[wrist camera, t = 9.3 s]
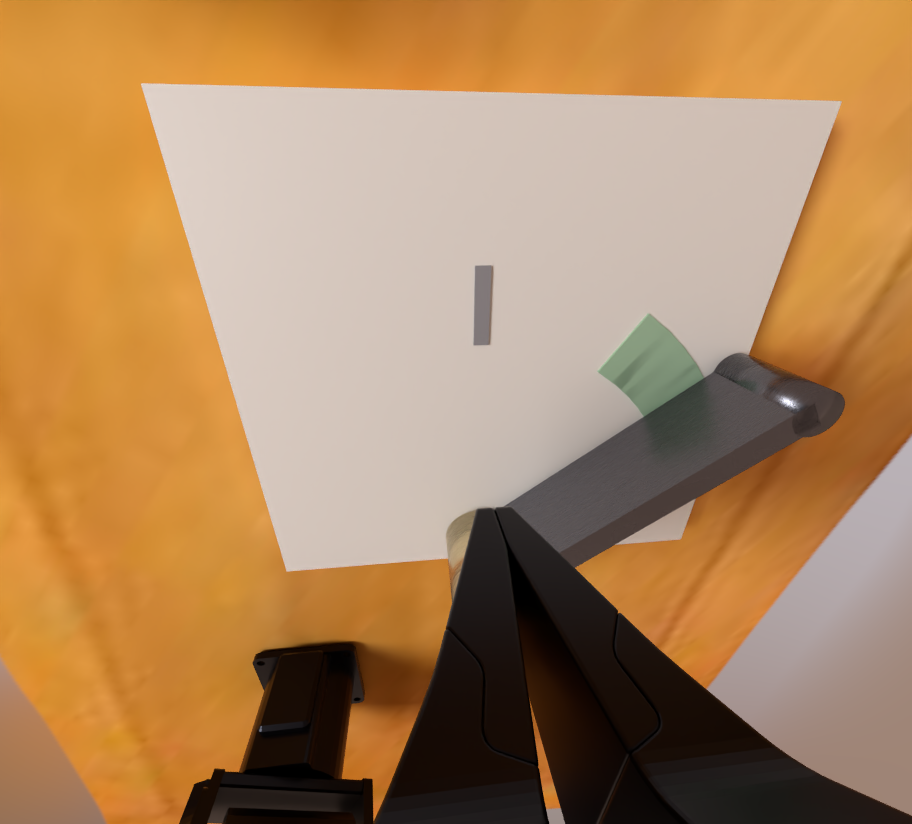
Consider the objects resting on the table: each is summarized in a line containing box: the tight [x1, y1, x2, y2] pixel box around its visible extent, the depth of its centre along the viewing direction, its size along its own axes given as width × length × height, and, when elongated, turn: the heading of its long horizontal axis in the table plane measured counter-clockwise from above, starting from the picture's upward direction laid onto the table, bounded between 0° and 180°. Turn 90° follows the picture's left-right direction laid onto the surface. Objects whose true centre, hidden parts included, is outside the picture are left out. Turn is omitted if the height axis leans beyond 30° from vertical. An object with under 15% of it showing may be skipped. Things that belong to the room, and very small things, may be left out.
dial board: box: [141, 83, 842, 571], centre depth 17 cm, size 20×22×2 cm
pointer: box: [446, 353, 845, 602], centre depth 16 cm, size 16×3×4 cm, turn 127°
